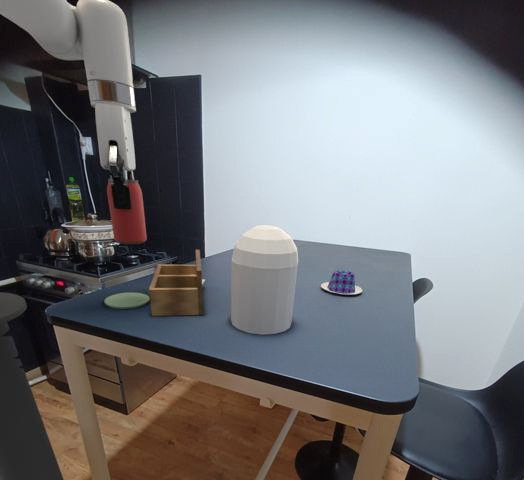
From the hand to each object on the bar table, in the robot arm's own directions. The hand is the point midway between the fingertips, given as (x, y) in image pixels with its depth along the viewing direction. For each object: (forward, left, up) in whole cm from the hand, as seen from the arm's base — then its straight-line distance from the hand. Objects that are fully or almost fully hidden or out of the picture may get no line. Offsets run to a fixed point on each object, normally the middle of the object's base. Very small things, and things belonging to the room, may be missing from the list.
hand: (126, 206), depth 65 cm
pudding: (+55, +8, -21) cm, 60 cm away
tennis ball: (+13, +9, -19) cm, 24 cm away
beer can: (0, 0, -7) cm, 7 cm away
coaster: (-3, +1, -21) cm, 21 cm away
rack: (+9, +2, -21) cm, 23 cm away
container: (+27, -13, -21) cm, 37 cm away
